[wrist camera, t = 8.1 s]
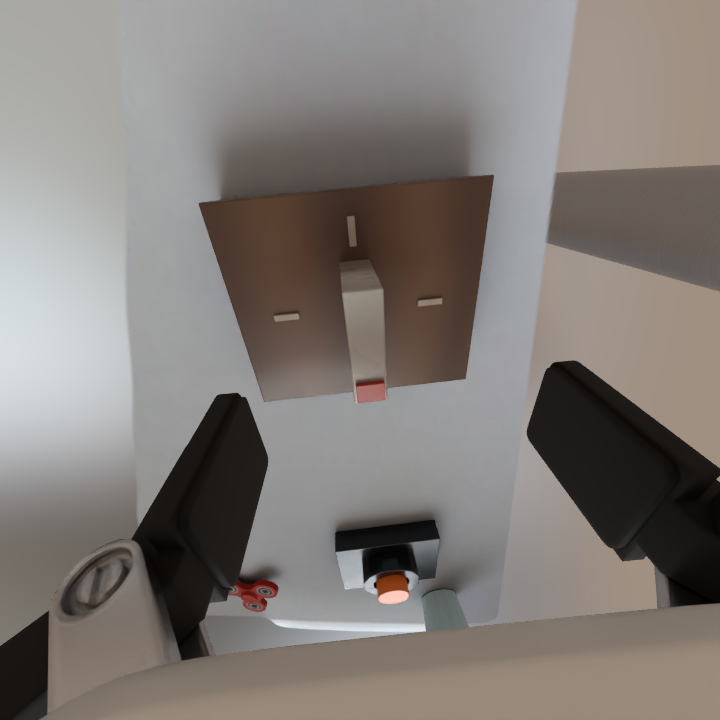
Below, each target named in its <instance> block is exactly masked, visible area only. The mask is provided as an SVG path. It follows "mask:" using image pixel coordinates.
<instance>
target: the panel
mask: <svg viewBox="0 0 720 720" xmlns="http://www.w3.org/2000/svg"><path fill="white" fill-rule="evenodd" d="M493 179H494V175H482V176H465V177H455V178H444V179H434V180H423V181H413V182H402V183H392V184H381V185H371V186H360V187H350V188H339V189H329V190H319V191H308V192H298V193H287V194H277V195H266V196H256V197H245V198H235V199H224V200H216V201H209V202H203V203H199V207H200V210H201V213H202V216H203V219H204V222H205V225H206V228H207V231H208V234H209V237H210V240H211V243H212V246H213V249H214V252H215V255H216V258H217V261H218V264H219V267H220V270H221V273H222V276H223V279H224V282H225V285H226V288H227V291H228V294H229V297H230V300H231V303H232V306H233V309H234V312H235V315H236V318H237V321H238V324H239V327H240V330H241V333H242V336H243V339H244V342H245V345H246V348H247V351H248V354H249V357H250V360H251V363H252V366H253V369H254V372H255V375H256V378H257V381H258V384H259V387H260V390H261V393H262V396H263V399H264V402H267V401H276V400H285V399H294V398H303V397H312V396H320V395H329V394H338V393H347V392H353V384H352V375H351V367H350V358H349V349H348V341H347V332H346V324H345V315H344V306H343V298H342V287H341V275H340V262H346V261H356V260H366V259H369V260H370V262H371V264H372V266H373V269H374V271H375V273H376V275H377V277H378V279H379V281H380V283H381V285H382V288H383V290H384V317H385V343H386V370H387V388H391V387H400V386H408V385H417V384H426V383H435V382H444V381H453V380H461V379H466V372H467V365H468V358H469V351H470V343H471V336H472V329H473V322H474V315H475V308H476V300H477V293H478V286H479V279H480V272H481V265H482V257H483V250H484V243H485V236H486V229H487V222H488V214H489V207H490V200H491V193H492V186H493Z"/></svg>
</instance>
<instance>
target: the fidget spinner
mask: <svg viewBox="0 0 720 720" xmlns="http://www.w3.org/2000/svg"><path fill="white" fill-rule="evenodd" d="M277 593H278V586H277V585H276V584H275V583H273V582H271V581H267V580H259V581H257V582H256V583H255V584H244V583H242V582H240V581H239V580H238V581H237V583H236V585H235V586H233V587H230V590H229V593H228V594H229V595H235V596H239V597H241V599H242V600H243V601H244V602H243V605H244V607H245V608H247V609H249V610H251V611H256V612H261V611H264V610H265V609H266V606H267V601H266V600H265V599H264V598H273V597H275V596H276V595H277Z"/></svg>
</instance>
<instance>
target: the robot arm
mask: <svg viewBox="0 0 720 720" xmlns="http://www.w3.org/2000/svg"><path fill="white" fill-rule="evenodd" d="M527 436H528V439H529V441H530V442H531V443H532V445H533V446H534V448H535V449H536V450H537V451H538V453H539V455H540V456H541V457H542V459H543V460H544V462H545V463H546V464H547V466H548V467H549V468H550V470H551V471H552V472H553V474H554V475H555V477H556V478H557V479H558V481H559V482H560V483H561V485H562V486H563V488H564V489H565V490H566V492H567V493H568V494H569V496H570V497H571V499H572V500H573V501H574V503H575V504H576V505H577V507H578V508H579V510H580V511H581V512H582V514H583V515H584V516H585V518H586V519H587V521H588V522H589V523H590V525H591V526H592V527H593V529H594V530H595V531H596V533H597V534H598V536H599V537H600V538H601V540H602V541H603V542H604V543H605V544H606V545H607V546H608V547H610V548H613V549H614V551H615V552H616V553H617V555H618V556H619V557H620V559H621V560H622V561H630V560H640V559H644V558H645V557H646V556H647V557H648V558H649V559H650V560H651V561H652V563H653V564H654V567H655V579H656V593H657V606H658V609H648V610H637V611H627V612H617V613H606V614H596V615H586V616H575V617H566V618H555V619H545V620H535V621H525V622H515V623H505V624H495V625H485V626H476V627H466V628H456V629H446V630H436V631H426V632H417V633H407V634H397V635H388V636H379V637H369V638H360V639H351V640H342V641H333V642H323V643H313V644H304V645H294V646H285V647H277V648H270V649H261V650H254V651H246V652H238V653H230V654H222V655H215V652H214V649H213V646H212V644H211V641H210V638H209V635H208V632H207V630H206V627H205V624H204V621H203V619H204V618H205V615H206V612H207V609H208V605H209V603H212V602H222V601H227V597H228V593H229V590H230V587H233V586H235V585H236V583H237V581H238V578H239V574H240V570H241V567H242V563H243V559H244V555H245V551H246V547H247V544H248V540H249V536H250V532H251V528H252V524H253V520H254V517H255V513H256V509H257V505H258V501H259V497H260V494H261V490H262V486H263V482H264V478H265V474H266V471H267V466H268V456H267V453H266V450H265V447H264V444H263V442H262V439H261V436H260V434H259V431H258V428H257V425H256V423H255V420H254V417H253V415H252V412H251V409H250V406H249V404H248V401H247V399H246V398H245V397H241V396H240V394H239V393H230V394H220V395H217V396H216V398H215V399H214V401H213V403H212V404H211V406H210V408H209V409H208V411H207V413H206V415H205V416H204V418H203V420H202V421H201V423H200V425H199V427H198V428H197V430H196V432H195V433H194V435H193V437H192V438H191V440H190V442H189V444H188V445H187V446H186V447H185V449H184V451H183V452H182V454H181V456H180V458H179V459H178V461H177V463H176V464H175V466H174V468H173V469H172V471H171V473H170V475H169V476H168V478H167V480H166V481H165V483H164V485H163V486H162V488H161V490H160V492H159V493H158V495H157V497H156V498H155V500H154V502H153V503H152V505H151V507H150V508H149V510H148V512H147V514H146V515H145V517H144V519H143V520H142V522H141V524H140V525H139V527H138V529H137V531H136V532H135V534H134V536H133V537H132V539H119V540H116V541H113V542H109V543H107V544H105V545H103V546H101V547H99V548H97V549H96V550H94V551H93V552H91V553H90V554H89V555H87V556H86V557H85V558H83V559H82V560H81V561H80V562H79V563H78V564H77V565H76V566H75V567H74V568H73V569H72V570H71V571H70V572H69V573H68V574H67V575H66V577H65V578H64V579H63V581H62V582H61V583H60V584H59V586H58V588H57V590H56V592H55V594H54V596H53V598H52V600H51V605H50V610H49V611H48V612H46V613H45V614H44V615H42V616H41V617H40V618H38V619H37V620H35V621H34V622H33V623H31V624H30V625H29V626H28V627H26V628H24V629H23V630H22V631H21V632H19V633H18V634H16V635H15V636H14V637H12V638H11V639H9V640H8V641H7V642H5V643H4V644H3V645H1V646H0V720H720V482H719V481H717V480H716V479H717V478H718V477H719V476H720V468H718V467H717V466H716V465H714V464H713V463H712V462H711V461H709V460H708V459H706V458H705V457H704V456H702V455H701V454H700V453H699V452H697V451H696V450H695V449H693V448H692V447H691V446H689V445H688V444H686V443H685V442H684V441H683V440H681V439H680V438H679V437H677V436H676V435H675V434H673V433H672V432H671V431H669V430H668V429H667V428H666V427H664V426H663V425H661V424H660V423H659V422H657V421H656V420H655V419H654V418H652V417H651V416H650V415H648V414H647V413H645V412H644V411H643V410H641V409H640V408H639V407H638V406H636V405H635V404H634V403H632V402H631V401H630V400H628V399H627V398H626V397H624V396H623V395H622V394H620V393H619V392H618V391H616V390H615V389H614V388H612V387H611V386H610V385H608V384H607V383H606V382H605V381H603V380H602V379H601V378H599V377H598V376H597V375H595V374H594V373H593V372H591V371H590V370H589V369H587V368H586V367H585V366H583V365H582V364H581V363H579V362H577V361H563V362H555V363H553V364H552V365H551V366H550V368H547V370H546V371H545V374H544V377H543V380H542V384H541V387H540V390H539V393H538V396H537V399H536V402H535V406H534V409H533V412H532V415H531V418H530V422H529V425H528V428H527Z"/></svg>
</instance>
